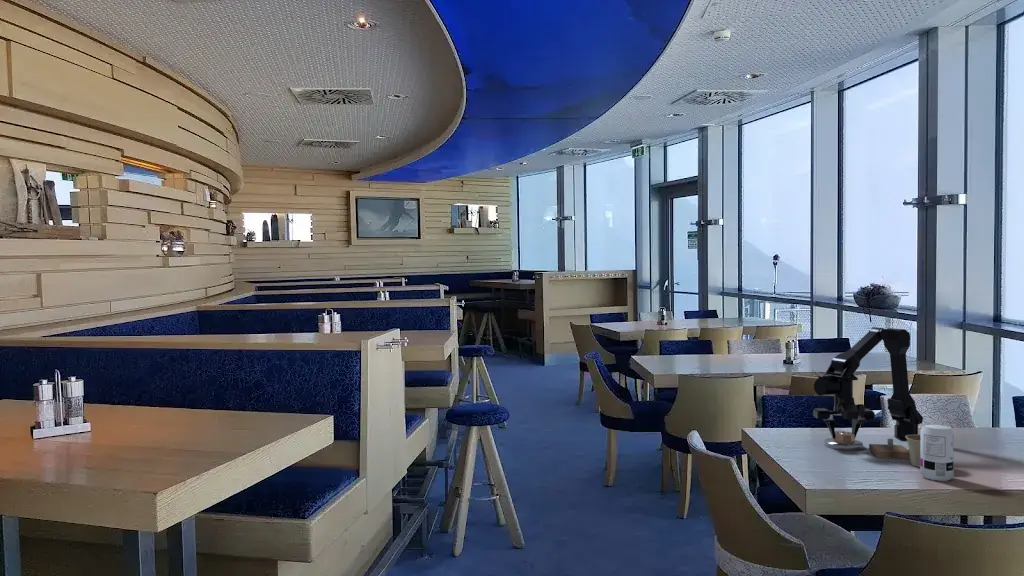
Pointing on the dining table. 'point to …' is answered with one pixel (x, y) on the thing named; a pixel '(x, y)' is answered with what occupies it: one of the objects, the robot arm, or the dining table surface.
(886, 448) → the stand
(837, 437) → the octagonal wooden ring
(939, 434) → the supplement can
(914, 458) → the flower pot
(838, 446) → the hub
